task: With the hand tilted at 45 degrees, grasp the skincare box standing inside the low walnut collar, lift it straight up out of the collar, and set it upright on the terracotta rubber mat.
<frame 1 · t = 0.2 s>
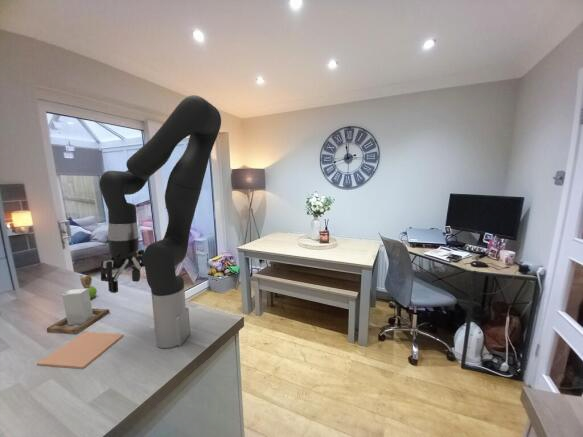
hand: (125, 286, 75), 18 cm above the kitchen counter, tool pointing down, fingers open, 8 cm apart
terracotta mat: (84, 349, 72), on the kitchen counter
snail figurine: (88, 299, 103), on the kitchen counter
walnut collar: (80, 321, 86), on the kitchen counter
skincare box: (80, 322, 86), resting in walnut collar
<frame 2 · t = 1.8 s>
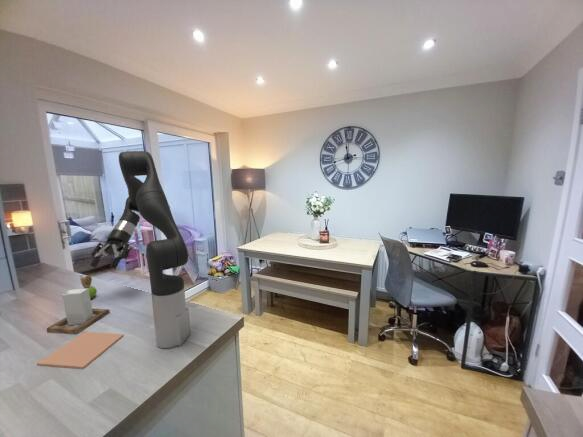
hand: (102, 267, 95), 17 cm above the kitchen counter, tool tilted 45°, fingers open, 8 cm apart
nothing on the kitchen counter moved.
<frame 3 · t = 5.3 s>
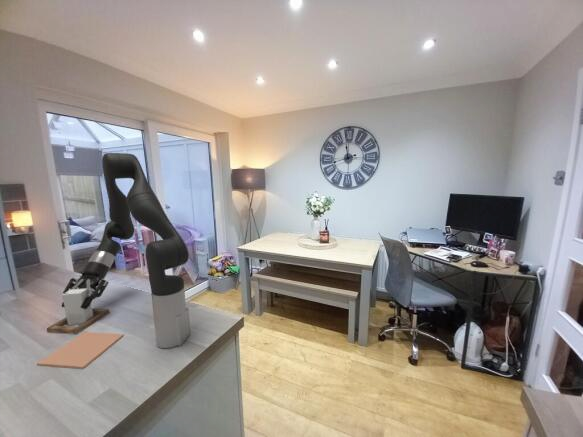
hand: (73, 307, 83), 6 cm above the kitchen counter, tool tilted 45°, fingers closed on skincare box, 6 cm apart
skincare box: (80, 322, 86), resting in walnut collar, touching gripper
everything else where it was.
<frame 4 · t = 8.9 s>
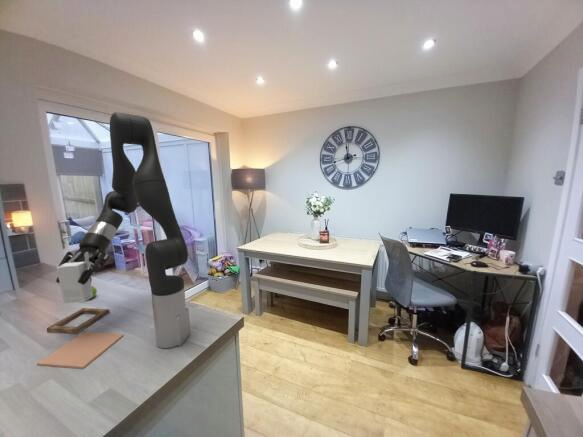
hand: (70, 283, 73), 20 cm above the kitchen counter, tool tilted 45°, fingers closed on skincare box, 6 cm apart
skincare box: (78, 300, 75), point 13 cm above the kitchen counter, touching gripper
everything else where it was.
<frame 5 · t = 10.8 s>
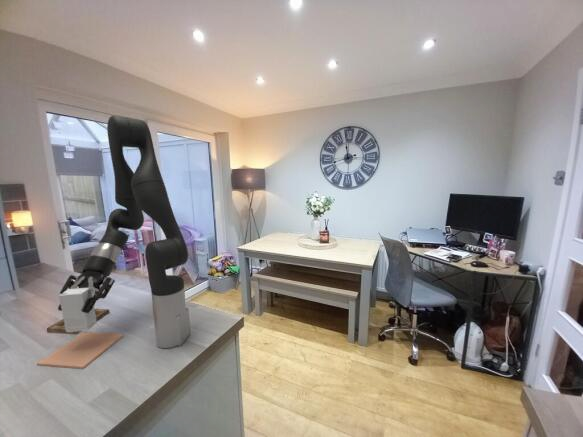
hand: (73, 311, 69), 13 cm above the kitchen counter, tool tilted 45°, fingers closed on skincare box, 6 cm apart
skincare box: (81, 328, 71), point 7 cm above the kitchen counter, touching gripper
everything else where it was.
when the fingers open (8 cm above the kitchen counter, at t = 12.3 s): skincare box drops 1 cm, resting on terracotta mat.
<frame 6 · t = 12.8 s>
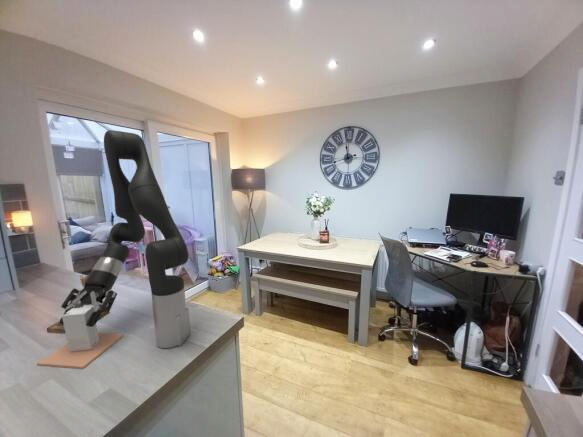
hand: (76, 325, 69), 9 cm above the kitchen counter, tool tilted 45°, fingers open, 8 cm apart
skincare box: (84, 347, 72), resting on terracotta mat
everything else where it was.
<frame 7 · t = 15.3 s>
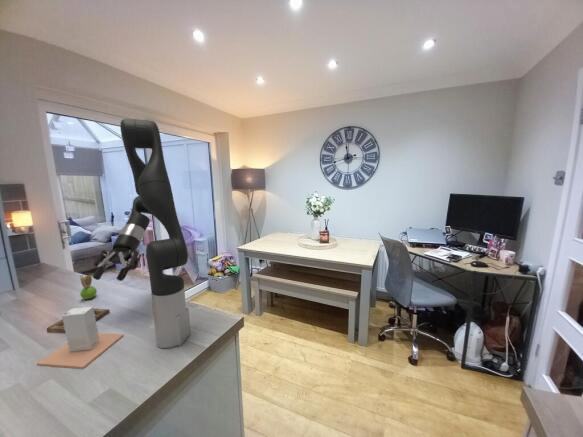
hand: (107, 279, 80), 18 cm above the kitchen counter, tool tilted 45°, fingers open, 8 cm apart
nothing on the kitchen counter moved.
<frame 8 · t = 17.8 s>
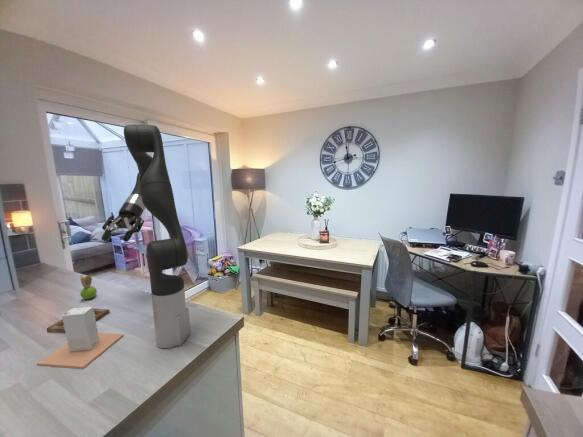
hand: (114, 240, 89), 29 cm above the kitchen counter, tool tilted 45°, fingers open, 8 cm apart
nothing on the kitchen counter moved.
at the end: skincare box inside the target area on the terracotta mat (0.4 cm from its centre), point 0.4 cm above the terracotta mat's base; skincare box tilted 0°; the gripper is holding nothing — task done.
